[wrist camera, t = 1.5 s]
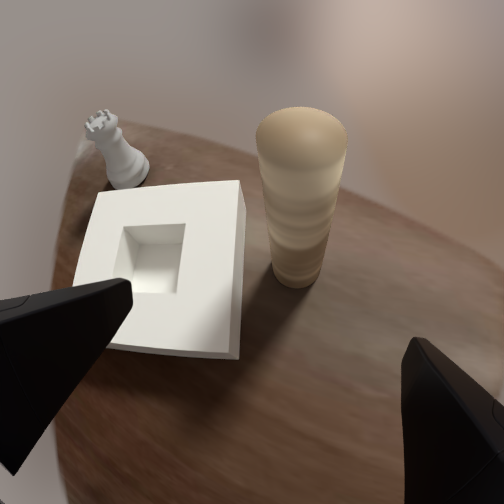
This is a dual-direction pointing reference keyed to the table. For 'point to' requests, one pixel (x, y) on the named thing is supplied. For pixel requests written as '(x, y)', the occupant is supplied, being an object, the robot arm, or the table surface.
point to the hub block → (172, 265)
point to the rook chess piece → (116, 152)
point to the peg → (300, 188)
